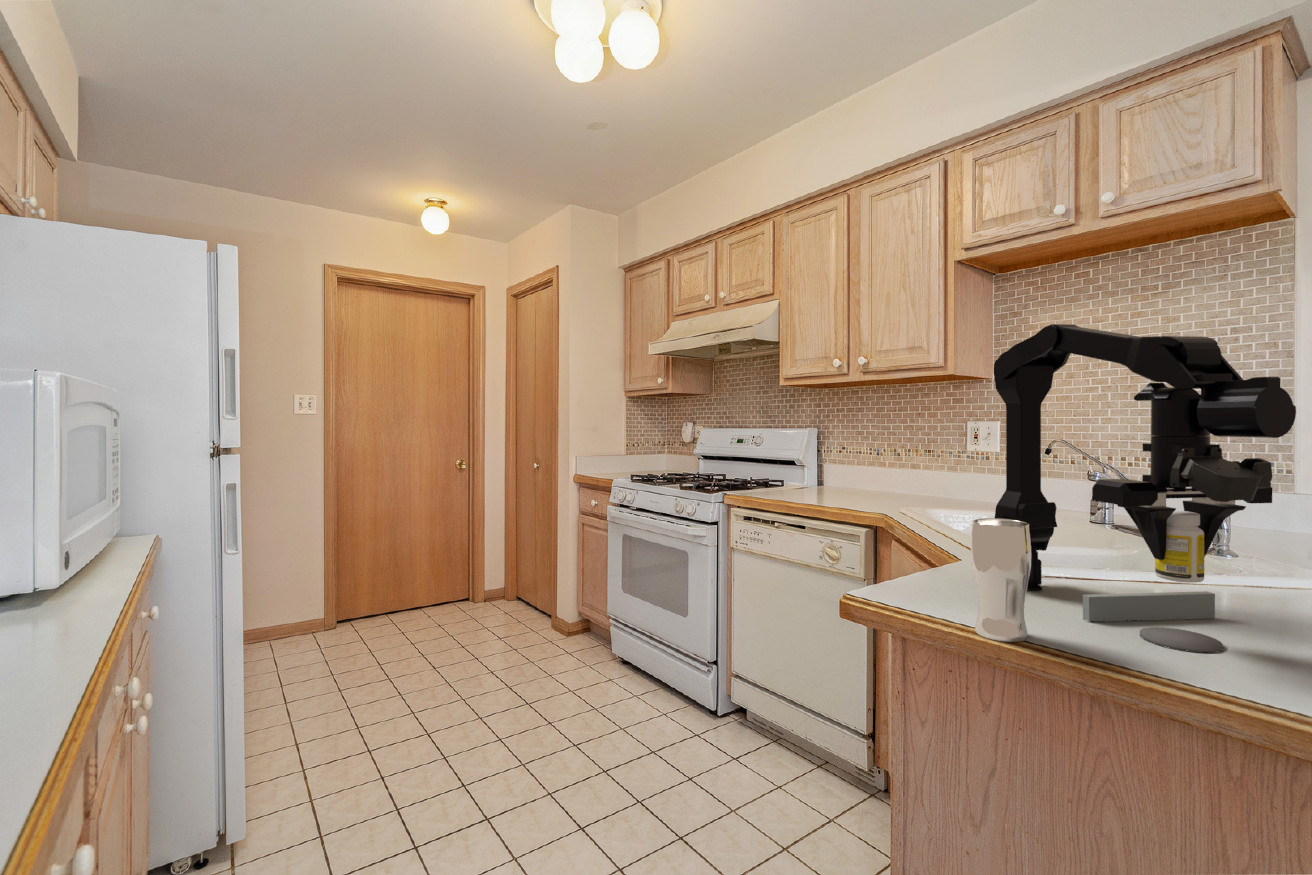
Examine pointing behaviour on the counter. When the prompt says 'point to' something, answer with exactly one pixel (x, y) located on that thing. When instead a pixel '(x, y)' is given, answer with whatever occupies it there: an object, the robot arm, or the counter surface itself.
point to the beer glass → (1001, 577)
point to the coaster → (1181, 639)
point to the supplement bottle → (1183, 549)
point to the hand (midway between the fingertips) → (1178, 558)
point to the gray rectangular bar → (1149, 606)
